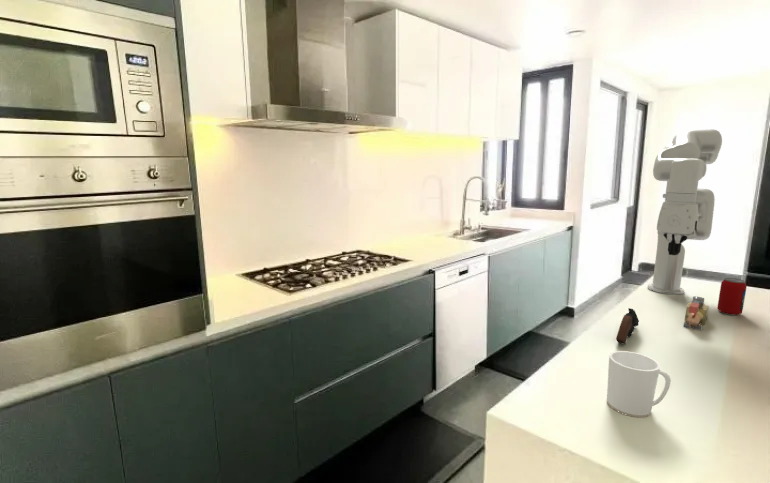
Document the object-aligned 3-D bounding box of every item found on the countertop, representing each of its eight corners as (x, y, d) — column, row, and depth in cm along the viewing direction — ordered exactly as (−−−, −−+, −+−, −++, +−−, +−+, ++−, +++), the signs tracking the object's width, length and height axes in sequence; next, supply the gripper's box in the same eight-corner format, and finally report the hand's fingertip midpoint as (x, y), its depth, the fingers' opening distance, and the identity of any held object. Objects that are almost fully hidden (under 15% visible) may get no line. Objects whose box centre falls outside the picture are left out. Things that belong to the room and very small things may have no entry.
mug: (598, 405, 85) (603, 360, 83) (612, 390, 91) (616, 347, 90) (659, 429, 77) (666, 379, 76) (670, 410, 84) (677, 364, 82)
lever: (692, 303, 136) (693, 295, 135) (703, 305, 134) (704, 297, 133) (686, 312, 126) (687, 305, 126) (698, 315, 124) (699, 307, 124)
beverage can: (747, 316, 139) (753, 282, 137) (727, 316, 139) (732, 282, 137) (731, 309, 146) (736, 277, 144) (711, 309, 146) (717, 277, 144)
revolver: (612, 338, 114) (622, 300, 117) (622, 353, 127) (631, 318, 130) (626, 341, 112) (635, 302, 115) (634, 356, 125) (643, 321, 128)
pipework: (689, 310, 144) (691, 297, 143) (707, 314, 141) (710, 300, 140) (681, 327, 128) (683, 312, 127) (701, 332, 125) (704, 316, 124)
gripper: (649, 197, 134) (643, 251, 137) (703, 201, 121) (694, 260, 125) (661, 196, 138) (654, 249, 141) (714, 199, 125) (705, 257, 129)
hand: (673, 254), depth 133 cm, fingers closed
